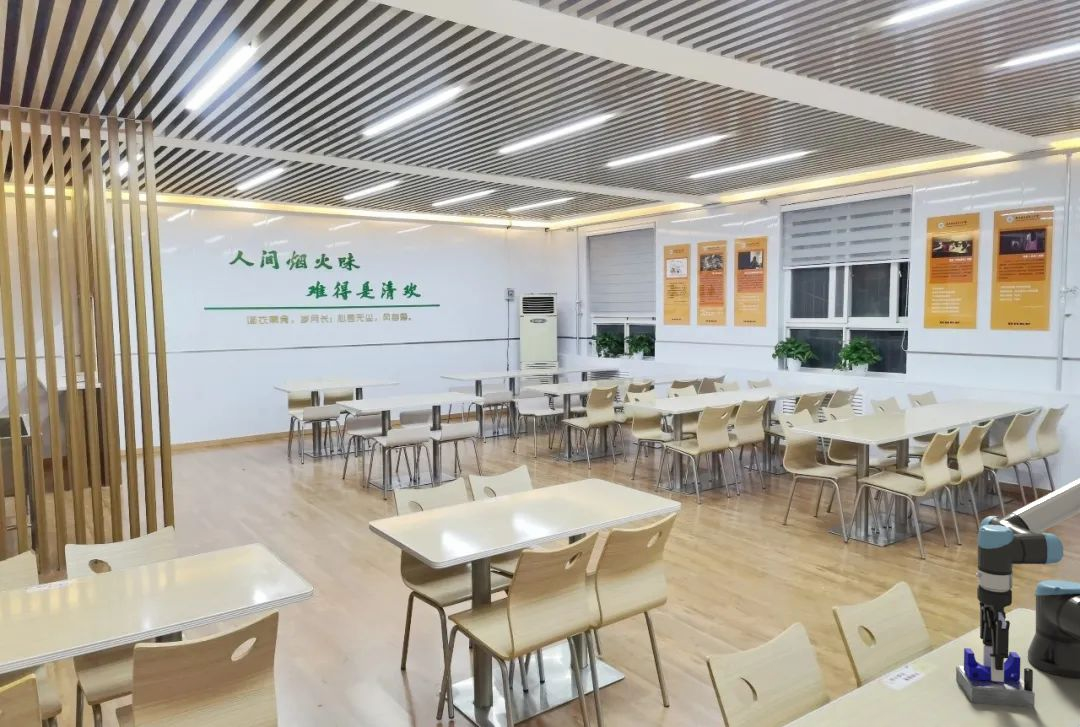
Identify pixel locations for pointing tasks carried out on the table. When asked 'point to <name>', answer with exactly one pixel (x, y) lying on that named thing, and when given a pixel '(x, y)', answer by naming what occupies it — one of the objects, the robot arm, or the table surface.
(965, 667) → the cable clip
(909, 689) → the table surface
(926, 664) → the table surface
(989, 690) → the grey square plate
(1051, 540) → the robot arm
